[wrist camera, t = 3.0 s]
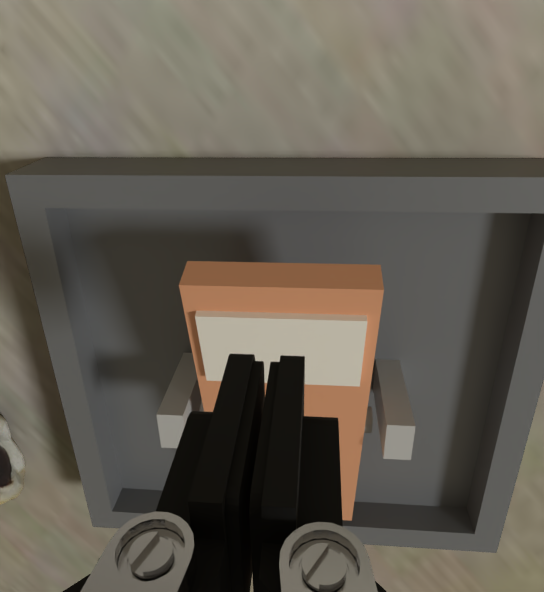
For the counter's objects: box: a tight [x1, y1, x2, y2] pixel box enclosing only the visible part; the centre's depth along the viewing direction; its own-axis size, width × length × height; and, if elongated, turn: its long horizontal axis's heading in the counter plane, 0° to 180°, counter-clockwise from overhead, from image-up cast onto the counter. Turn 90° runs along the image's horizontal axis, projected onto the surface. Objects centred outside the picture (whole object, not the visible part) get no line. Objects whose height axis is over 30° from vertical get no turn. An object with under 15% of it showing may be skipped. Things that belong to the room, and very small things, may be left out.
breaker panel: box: [5, 158, 544, 553], centre depth 21 cm, size 18×20×6 cm
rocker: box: [179, 261, 384, 521], centre depth 20 cm, size 14×7×2 cm, turn 1°
